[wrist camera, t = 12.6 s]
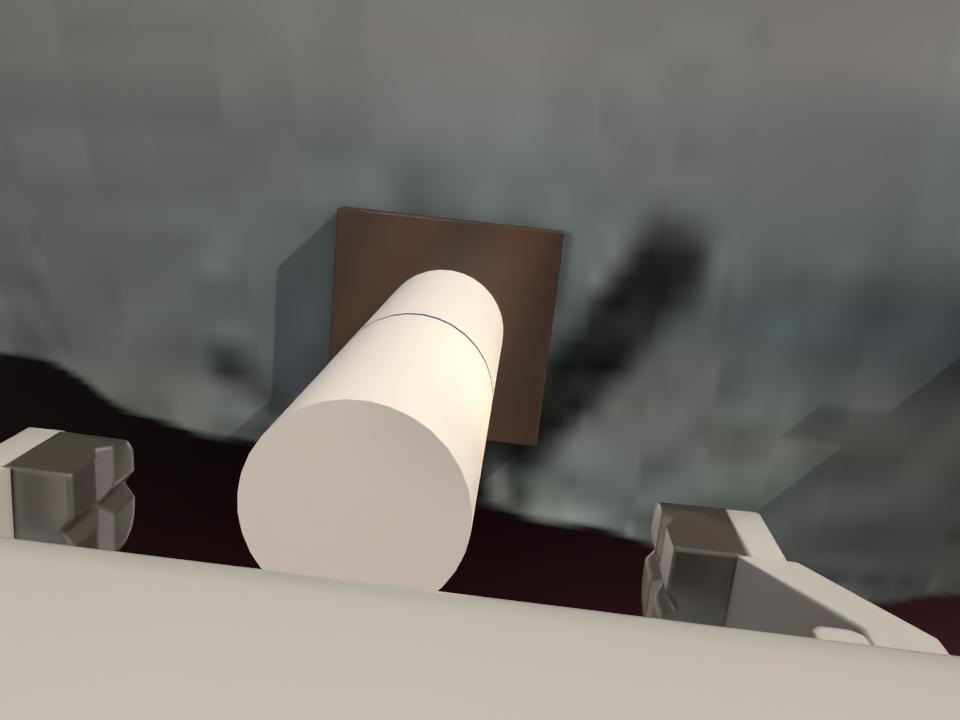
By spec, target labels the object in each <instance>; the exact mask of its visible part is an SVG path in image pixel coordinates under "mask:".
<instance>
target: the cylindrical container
mask: <svg viewBox="0 0 960 720" xmlns="http://www.w3.org/2000/svg"><path fill="white" fill-rule="evenodd" d="M502 341H503V322H502V316H501V313H500V310H499V307H498V305H497V303H496V302H495V300H494V298H493V296H492V295H491V294H490V293H489V292H488V290H487V289H486V288H485V287H484V286H483V285H481V284H480V283H479V282H477V281H476V280H475V279H473V278H471V277H469V276H467V275H465V274H463V273H459V272H455V271H451V270H433V271H427V272H424V273H421V274H418V275H416V276H414V277H412V278H411V279H409V280H407V281H406V282H405V283H404V284H402V285H401V286H400V287H399V288H398V289H397V290H396V291H395V292H394V293H393V294H392V295H391V297H390V298H389V299H388V300H387V301H386V302H385V303H384V304H383V305H382V306H381V307H380V309H379V310H378V311H377V312H376V313H375V314H374V315H373V316H372V317H371V318H370V319H369V320H368V321H367V323H366V324H365V325H364V326H363V327H362V328H361V329H360V330H359V331H358V332H357V333H356V334H355V335H354V336H353V338H352V339H351V340H350V341H349V342H348V343H347V344H346V345H345V346H344V347H343V348H342V350H341V351H340V352H339V353H338V354H337V355H336V356H335V357H334V358H333V359H332V360H331V362H330V363H329V364H328V365H327V366H326V367H325V368H324V369H323V370H322V371H321V372H320V374H319V375H318V376H317V377H316V378H315V379H314V380H313V381H312V382H311V383H310V384H309V385H308V386H307V388H306V389H305V390H304V391H303V392H302V393H301V394H300V395H299V396H298V397H297V398H296V399H295V400H294V402H293V403H292V404H291V405H290V406H289V407H288V408H287V409H286V410H285V411H284V412H283V413H282V414H281V416H280V417H279V418H278V419H277V420H276V421H275V422H274V423H273V424H272V425H271V426H270V427H269V428H268V429H267V431H266V432H265V433H264V434H263V435H262V436H261V438H260V439H259V440H258V442H257V443H256V445H255V446H254V447H253V449H252V450H251V452H250V453H249V455H248V458H247V460H246V462H245V465H244V467H243V470H242V472H241V476H240V482H239V487H238V492H237V493H238V516H239V521H240V525H241V530H242V534H243V536H244V538H245V541H246V543H247V545H248V547H249V550H250V552H251V554H252V556H253V557H254V558H255V560H256V561H257V563H258V564H259V566H260V567H261V569H262V570H270V571H278V572H286V573H294V574H302V575H310V576H318V577H326V578H334V579H342V580H350V581H358V582H366V583H375V584H383V585H391V586H399V587H407V588H415V589H423V590H431V591H438V590H439V589H440V588H442V587H443V585H444V584H445V583H446V582H447V581H448V579H449V578H450V577H451V576H452V575H453V573H454V572H455V571H456V569H457V567H458V565H459V563H460V562H461V560H462V558H463V556H464V554H465V552H466V548H467V545H468V541H469V537H470V534H471V528H472V522H473V516H474V510H475V504H476V498H477V492H478V486H479V480H480V474H481V468H482V462H483V456H484V450H485V444H486V437H487V431H488V425H489V419H490V413H491V407H492V401H493V395H494V389H495V383H496V377H497V371H498V365H499V359H500V353H501V347H502Z"/></svg>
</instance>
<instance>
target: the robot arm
mask: <svg viewBox="0 0 960 720" xmlns="http://www.w3.org/2000/svg"><path fill="white" fill-rule="evenodd" d="M133 470H134V460H133V449H132V447H131V445H130V444H129V442H128V441H127V440H119V439H112V438H104V437H97V436H89V435H82V434H74V433H67V432H64V431H60V430H50V429H40V428H27V429H26V430H24V431H22V432H20V433H19V434H17V435H15V436H13V437H11V438H9V439H8V440H6V441H4V442H2V443H0V720H960V656H953V655H949V653H948V652H947V651H946V650H945V648H944V647H943V646H942V644H941V643H940V642H939V640H938V639H936V638H934V637H932V636H931V635H929V634H927V633H925V632H923V631H921V630H920V629H918V628H916V627H914V626H912V625H910V624H909V623H907V622H905V621H903V620H901V619H899V618H898V617H896V616H894V615H892V614H890V613H889V612H887V611H885V610H883V609H881V608H879V607H878V606H876V605H874V604H872V603H870V602H868V601H867V600H865V599H863V598H861V597H859V596H857V595H856V594H854V593H852V592H850V591H848V590H847V589H845V588H843V587H841V586H839V585H837V584H836V583H834V582H832V581H830V580H828V579H826V578H825V577H823V576H821V575H819V574H817V573H815V572H814V571H812V570H810V569H808V568H806V567H804V566H803V565H801V564H799V563H797V562H789V561H787V560H786V559H785V557H784V555H783V554H782V552H781V550H780V548H779V547H778V545H777V543H776V542H775V540H774V538H773V536H772V535H771V533H770V531H769V530H768V528H767V526H766V524H765V523H764V521H763V519H762V518H761V516H760V514H758V513H755V512H747V511H736V510H725V509H724V508H714V507H704V506H693V505H683V504H672V503H662V502H659V503H658V504H656V506H655V509H654V513H653V517H652V522H651V528H650V534H651V538H652V542H653V546H654V551H653V552H652V553H651V554H650V555H649V556H648V557H647V558H646V559H645V566H644V574H643V582H642V610H643V616H644V617H640V616H632V615H624V614H615V613H608V612H600V611H592V610H584V609H576V608H568V607H560V606H552V605H543V604H536V603H527V602H520V601H511V600H504V599H496V598H487V597H479V596H471V595H463V594H455V593H447V592H439V591H431V590H423V589H415V588H407V587H399V586H391V585H383V584H375V583H366V582H358V581H350V580H342V579H334V578H326V577H318V576H310V575H302V574H294V573H286V572H278V571H270V570H261V569H253V568H245V567H237V566H229V565H221V564H213V563H205V562H197V561H189V560H181V559H173V558H165V557H157V556H148V555H140V554H132V553H124V552H117V551H118V550H119V549H120V548H121V547H122V546H123V545H124V544H125V542H126V539H127V537H128V535H129V533H130V531H131V528H132V524H133V518H134V512H135V502H134V501H135V497H134V495H133V494H132V493H131V491H130V489H129V488H128V486H127V485H126V483H125V481H126V479H127V478H128V477H129V476H130V474H131V473H132V472H133Z"/></svg>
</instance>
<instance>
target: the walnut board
mask: <svg viewBox="0 0 960 720" xmlns="http://www.w3.org/2000/svg"><path fill="white" fill-rule="evenodd" d="M563 236H564V234H563V231H559V230H550V229H541V228H532V227H523V226H514V225H505V224H496V223H487V222H478V221H469V220H459V219H450V218H441V217H432V216H423V215H414V214H405V213H396V212H387V211H378V210H369V209H360V208H351V207H341V208H338V214H337V231H336V249H335V266H334V284H333V301H332V318H331V336H330V353H329V363H330V362H331V360H332V359H333V358H334V357H335V356H336V355H337V354H338V353H339V352H340V351H341V350H342V348H343V347H344V346H345V345H346V344H347V343H348V342H349V341H350V340H351V339H352V338H353V336H354V335H355V334H356V333H357V332H358V331H359V330H360V329H361V328H362V327H363V326H364V325H365V324H366V323H367V321H368V320H369V319H370V318H371V317H372V316H373V315H374V314H375V313H376V312H377V311H378V310H379V309H380V307H381V306H382V305H383V304H384V303H385V302H386V301H387V300H388V299H389V298H390V297H391V295H392V294H393V293H394V292H395V291H396V290H397V289H398V288H399V287H400V286H401V285H402V284H404V283H405V282H406V281H407V280H409V279H411V278H412V277H414V276H416V275H418V274H421V273H424V272H427V271H433V270H451V271H455V272H459V273H463V274H465V275H467V276H469V277H471V278H473V279H475V280H476V281H477V282H479V283H480V284H481V285H483V286H484V287H485V288H486V289H487V290H488V292H489V293H490V294H491V295H492V296H493V298H494V300H495V302H496V303H497V305H498V307H499V310H500V313H501V316H502V322H503V341H502V347H501V353H500V359H499V365H498V371H497V377H496V383H495V389H494V395H493V401H492V407H491V413H490V419H489V425H488V431H487V437H486V441H494V442H502V443H510V444H519V445H527V446H537V438H538V431H539V423H540V415H541V407H542V399H543V392H544V384H545V376H546V368H547V360H548V353H549V345H550V337H551V329H552V321H553V314H554V306H555V298H556V290H557V283H558V275H559V267H560V259H561V251H562V244H563Z"/></svg>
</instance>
